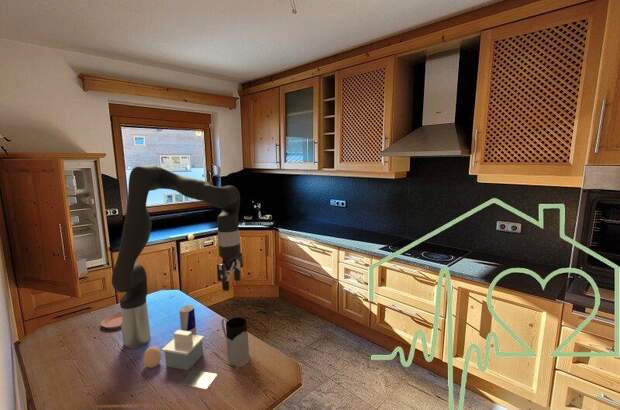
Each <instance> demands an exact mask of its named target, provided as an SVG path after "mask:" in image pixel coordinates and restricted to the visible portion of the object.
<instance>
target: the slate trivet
mask: <svg viewBox="0 0 620 410" xmlns="http://www.w3.org/2000/svg"><path fill="white" fill-rule="evenodd" d="M218 374H219V373H214V372H207V371H201V370H198V369H196V370H195V369H192V370H191V371H190V372H189V373H188V375H186V377H185V378H184V379H183V380H182V381H180V384H179V385H182V386H187V387H193V388H198V389H204V390H207V389H208V388H209V387H210V385H211V384H212V382H213V381H214V380H215V378H217V376H218Z"/></svg>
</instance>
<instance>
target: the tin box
mask: <svg viewBox="0 0 620 410" xmlns="http://www.w3.org/2000/svg"><path fill="white" fill-rule="evenodd" d="M203 345H204V344H203V340H202V341H201V342H200V343H199V344H198V345H197V346H196V347H195V348H194V349H193V350H192V351H191V352H190V353H189V354H188V355H182V354H176V353H170V352H164V356H165V363H166V364H165V365H166V367H168V368H175V369H180V370H185V371H189V370H190V369H191V368H192V367H193V366H194V365H195V364H196V363H197V362H198V361H199V359H200V358H201V357H202V356H203V355H204V347H203Z"/></svg>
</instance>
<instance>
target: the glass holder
mask: <svg viewBox="0 0 620 410" xmlns="http://www.w3.org/2000/svg"><path fill="white" fill-rule="evenodd" d="M224 321H225V323H224ZM247 324H248V321H247V319H246V318H245V317H241V316H240V317H232V318H229V319H227V317H224V318H222V319H221V327H222V331H223V334H224V337H225V339H226V340H225V341H226V351H227V352H226V353H227V354H226V355H227V359H226V362H227V363H228V364H229V365H231V366H235V367H236V368H240V367H243V366H245V365H247V364H248V363H249V362H250V360H251V354H250V350H249V333H248V325H247Z"/></svg>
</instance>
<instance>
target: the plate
mask: <svg viewBox="0 0 620 410" xmlns="http://www.w3.org/2000/svg"><path fill="white" fill-rule="evenodd" d="M121 323H122V314H121V311H117V312H115V313H112V314H109V315H107V316H106V317H104V318H103V319H102V320H101V322H100V326H101V327H104V328H106V329H110V330H112V329H114V330H115V329H116V330H117V329H121Z"/></svg>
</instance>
